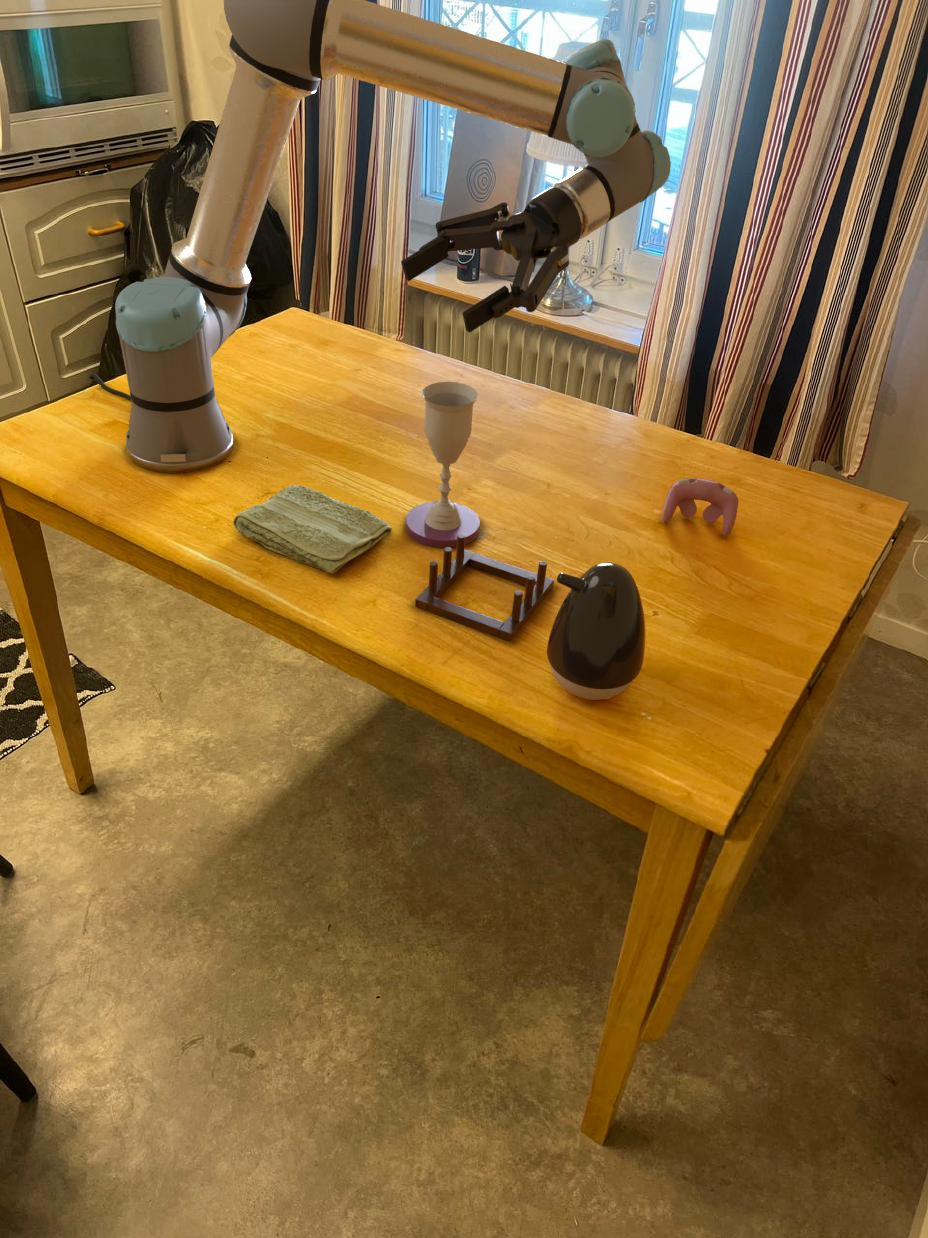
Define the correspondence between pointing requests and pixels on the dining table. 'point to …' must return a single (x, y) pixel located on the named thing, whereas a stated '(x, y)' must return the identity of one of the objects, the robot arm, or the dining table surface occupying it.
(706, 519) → the video game controller
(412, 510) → the lid
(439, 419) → the chalice
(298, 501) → the washcloth
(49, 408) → the dining table surface
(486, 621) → the drying rack
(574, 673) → the pump dispenser
